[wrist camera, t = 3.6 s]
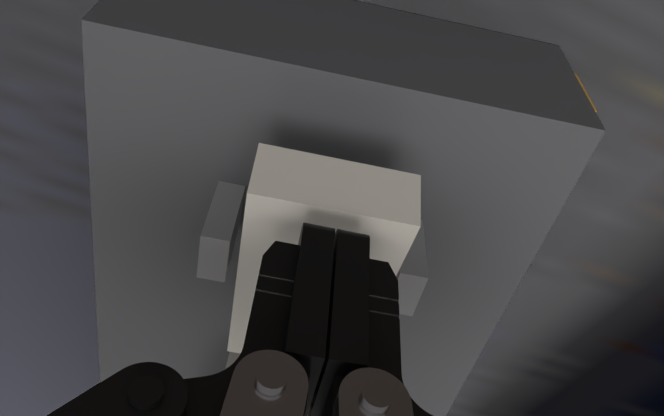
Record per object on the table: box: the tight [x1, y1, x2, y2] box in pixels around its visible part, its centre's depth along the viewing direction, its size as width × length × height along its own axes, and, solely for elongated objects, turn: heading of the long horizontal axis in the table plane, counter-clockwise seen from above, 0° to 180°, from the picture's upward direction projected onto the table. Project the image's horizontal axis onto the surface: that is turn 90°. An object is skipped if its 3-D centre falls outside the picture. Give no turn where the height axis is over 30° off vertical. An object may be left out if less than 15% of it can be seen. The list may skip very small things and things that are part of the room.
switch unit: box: [81, 0, 606, 416], centre depth 27 cm, size 30×14×8 cm, turn 168°
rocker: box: [227, 143, 421, 353], centre depth 18 cm, size 8×4×2 cm, turn 168°
